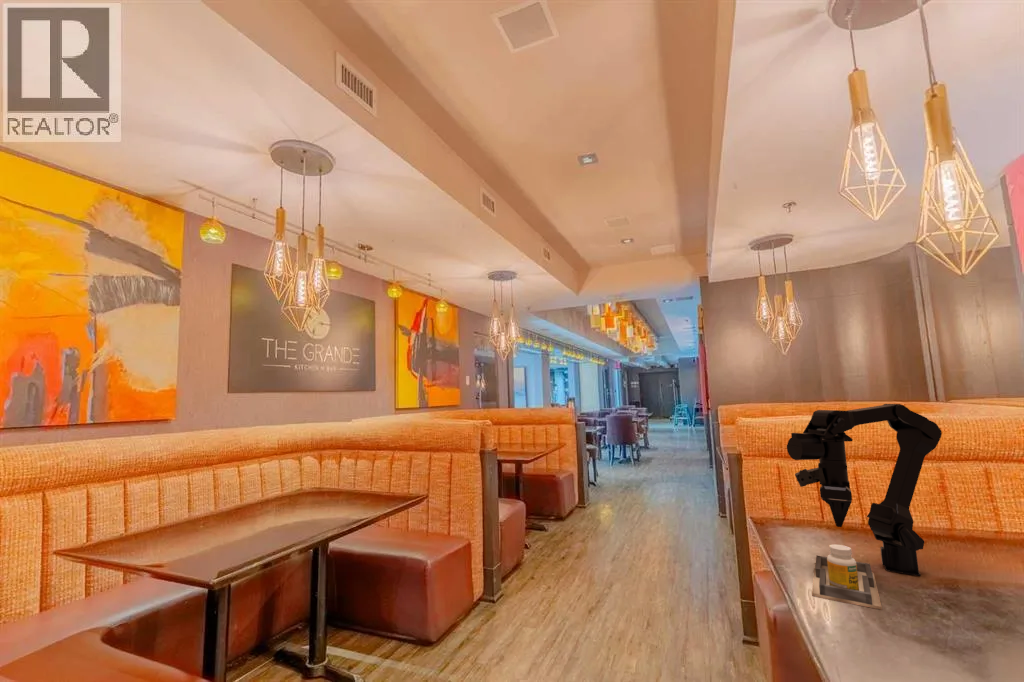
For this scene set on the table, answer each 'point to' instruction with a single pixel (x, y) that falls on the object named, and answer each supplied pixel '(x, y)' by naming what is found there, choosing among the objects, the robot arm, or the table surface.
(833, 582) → the supplement bottle
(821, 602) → the table surface
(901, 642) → the table surface
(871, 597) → the grey flat frame
